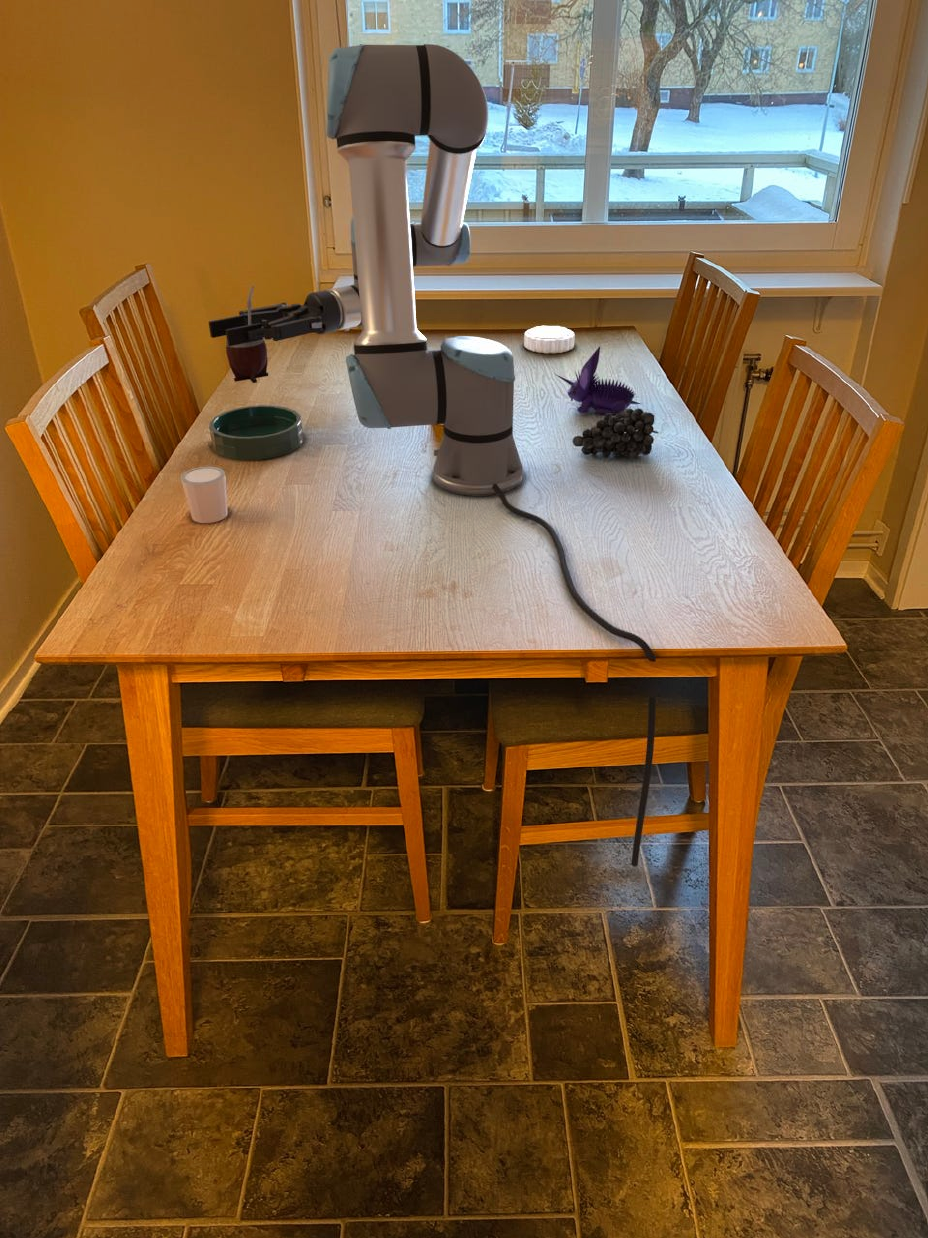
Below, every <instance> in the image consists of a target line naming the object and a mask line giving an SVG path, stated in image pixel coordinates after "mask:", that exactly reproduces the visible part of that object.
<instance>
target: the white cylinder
mask: <svg viewBox="0 0 928 1238" xmlns="http://www.w3.org/2000/svg"><path fill="white" fill-rule="evenodd" d="M179 478H180V482H181V486H182V489H183V493H184V496H185V500H186V503H187V506H188V509H189V512H190V517H191V519H192V521H194V522H196V523H200V524H212V523H216V522H219V521H222V520H224V519H225V518H226V517H227V516H228V513H229V512H228V500H227V499H228V498H227V496H228V495H227V481H226V480H227V479H226V472H225V470H223V469H222V468H220V467H215V466H201V467H195V468H191V469H189V470H186V471H184V472H183V473H182V474H181V475H180V477H179Z"/></svg>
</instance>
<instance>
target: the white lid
mask: <svg viewBox="0 0 928 1238" xmlns="http://www.w3.org/2000/svg"><path fill="white" fill-rule="evenodd" d="M575 339H576V336H575V332H574V331H572V330H571V329H568V328H566V326H565V327H564V326H560V325H540V326H535V327H532V328H530V329H526V331H524V337H523V346H524V348H526V350H528V351H531V352H536V353H538V354H561V353H566V352H569V351H571V350H573V348H574V347H575V341H576V340H575Z"/></svg>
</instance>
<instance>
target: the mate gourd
mask: <svg viewBox="0 0 928 1238" xmlns="http://www.w3.org/2000/svg"><path fill="white" fill-rule="evenodd" d="M254 288H255V285H251V287H250V290H249V293H248V297H247V301H246V308H247V310H248V325H251V309H252V308H253V307H252V304H253V303H252V298H253V297H252V296H253V293H254ZM225 353H226V357H227V361H228V364H229V367H230V369H231V372H232V374H233V376H234V378H233V381H234V382H235V383H236V382H241V381H250V382H251V383H252V384H257V383H258V380H257V379H258V378H259V379H260V378H266V377H269V372H268V362H269V361H268V348H267V344H266V342H265V338H263V339H262V340H257V341H252V342H248V343H243V344H238V345H234V346H228V344H227V341H226V342H225Z"/></svg>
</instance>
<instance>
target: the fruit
mask: <svg viewBox="0 0 928 1238" xmlns="http://www.w3.org/2000/svg"><path fill="white" fill-rule="evenodd" d="M654 423H655V415H654V414H653V413H652V412H647V411H644V410H643V409H642V408H635V409H634V410H633V409H632V408H626V409H625V410H624V411H622V412H620V413H615V415H614V414H611V413H607V414H604V416H603V419H601V418H600V419H598V420H597V421H596V422H595V425H593V426H591V428H585V429H584V430H583V431H582V435H575V436H573V438H572V444H573V446H574V447H581V452H582V454H583V455H585V456H589V455H594V456H596V455H598V454H599V453H600V454H601V456H602V457H603V458H606V459H607V458H609V457H610V456H611V454H612V456H615V457H626V458H628V459H635V458H636V456H638V455H641V454H642V455H644V456H649V455H650V454H651V452H652V450H653V445H652V444H654V441H655V439H654V437H653V435H652V433H654V434H659V432H658V431H656V430H654V426H653V425H654Z"/></svg>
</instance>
